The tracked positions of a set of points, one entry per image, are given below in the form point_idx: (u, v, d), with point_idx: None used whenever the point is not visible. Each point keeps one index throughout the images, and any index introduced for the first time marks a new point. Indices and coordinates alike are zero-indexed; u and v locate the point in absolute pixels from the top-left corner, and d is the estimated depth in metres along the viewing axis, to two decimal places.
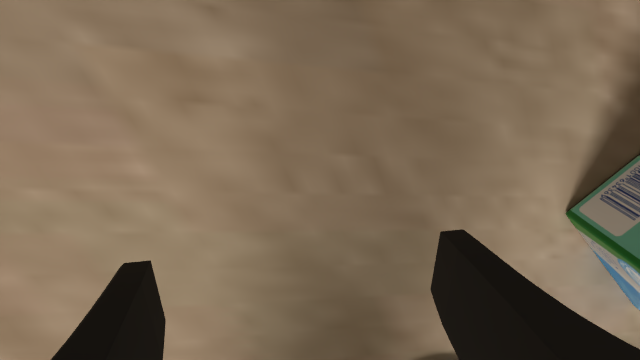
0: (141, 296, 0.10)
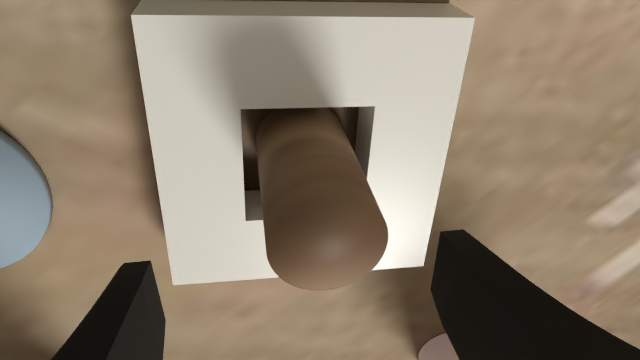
0: (141, 296, 0.10)
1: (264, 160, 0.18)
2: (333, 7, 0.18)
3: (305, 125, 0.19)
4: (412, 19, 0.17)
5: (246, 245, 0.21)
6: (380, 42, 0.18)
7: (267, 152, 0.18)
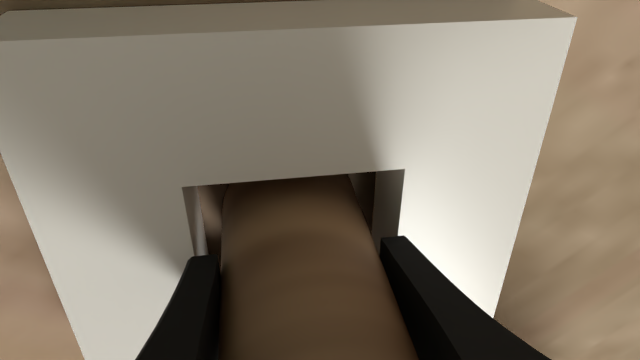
0: (215, 288, 0.10)
1: (226, 267, 0.11)
2: (330, 9, 0.11)
3: (291, 206, 0.11)
4: (469, 26, 0.10)
5: None
6: (413, 67, 0.10)
7: (231, 254, 0.11)
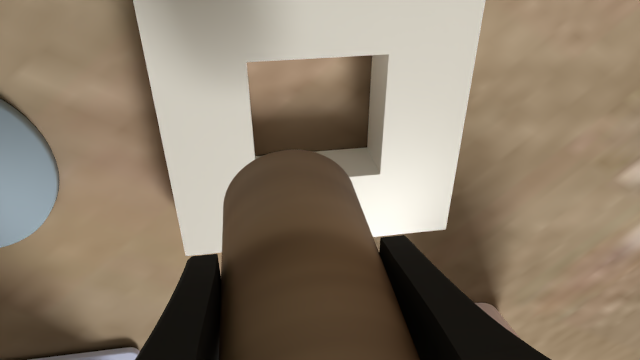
0: (214, 288, 0.10)
1: (226, 267, 0.11)
2: None
3: (292, 206, 0.11)
4: None
5: None
6: None
7: (232, 254, 0.11)
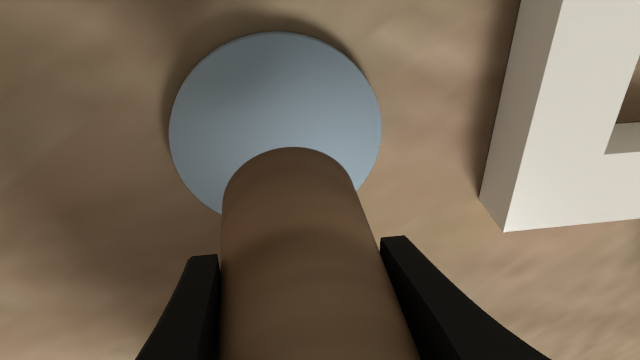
0: (215, 289, 0.10)
1: (225, 263, 0.11)
2: None
3: (292, 202, 0.11)
4: None
5: (592, 184, 0.19)
6: None
7: (231, 250, 0.11)
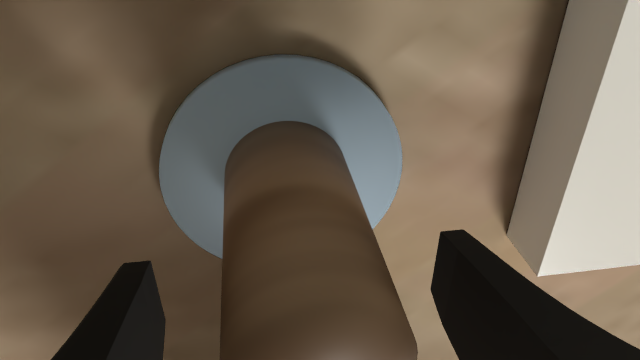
0: (141, 296, 0.10)
1: (228, 219, 0.12)
2: None
3: (288, 166, 0.13)
4: None
5: None
6: None
7: (233, 207, 0.12)
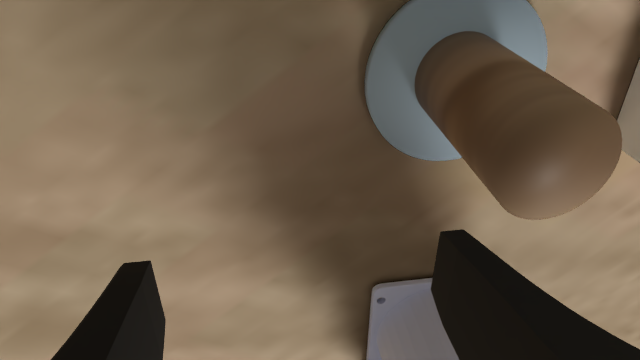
0: (141, 296, 0.10)
1: (452, 89, 0.17)
2: None
3: (494, 51, 0.17)
4: None
5: None
6: None
7: (456, 80, 0.17)
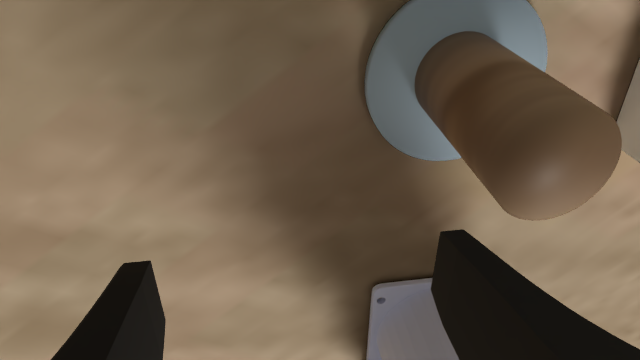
0: (141, 296, 0.10)
1: (452, 89, 0.17)
2: None
3: (494, 52, 0.17)
4: None
5: None
6: None
7: (456, 81, 0.17)
